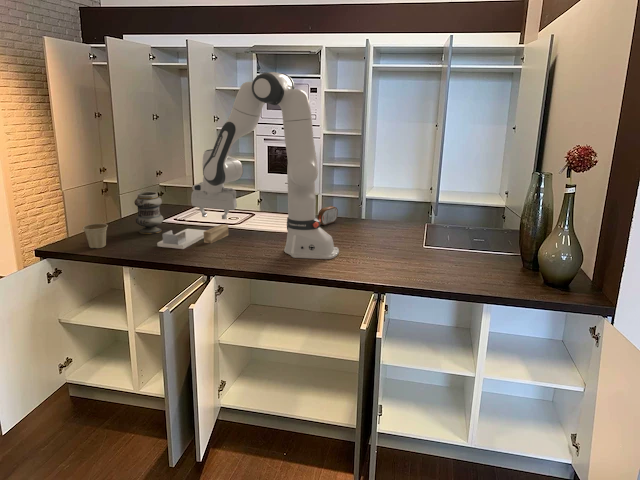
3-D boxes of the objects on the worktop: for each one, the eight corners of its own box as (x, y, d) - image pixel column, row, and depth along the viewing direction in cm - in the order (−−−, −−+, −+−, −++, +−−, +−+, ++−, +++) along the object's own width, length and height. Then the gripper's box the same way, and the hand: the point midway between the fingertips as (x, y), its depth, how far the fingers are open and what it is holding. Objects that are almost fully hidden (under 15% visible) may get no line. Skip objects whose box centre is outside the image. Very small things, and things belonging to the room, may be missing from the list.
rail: (228, 235, 220) (228, 225, 219) (211, 243, 207) (210, 232, 206) (221, 234, 221) (221, 224, 220) (204, 242, 209) (203, 231, 207)
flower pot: (79, 248, 198) (77, 227, 195) (97, 242, 206) (95, 222, 204) (97, 251, 194) (95, 230, 192) (114, 244, 203) (112, 224, 201)
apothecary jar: (142, 236, 215) (139, 196, 210) (132, 230, 224) (129, 192, 219) (168, 232, 223) (165, 193, 218) (157, 226, 232) (154, 189, 227)
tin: (333, 220, 251) (334, 204, 249) (338, 221, 249) (339, 205, 247) (316, 225, 239) (316, 209, 237) (321, 226, 237) (322, 210, 235)
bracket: (210, 234, 221) (210, 222, 220) (183, 249, 199) (182, 236, 197) (187, 231, 224) (186, 220, 223) (157, 246, 202) (156, 233, 200)
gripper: (239, 187, 208) (239, 218, 212) (196, 183, 213) (197, 214, 217) (232, 190, 202) (233, 222, 206) (188, 185, 207) (189, 217, 211)
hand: (214, 217), depth 211 cm, fingers open, 8 cm apart
